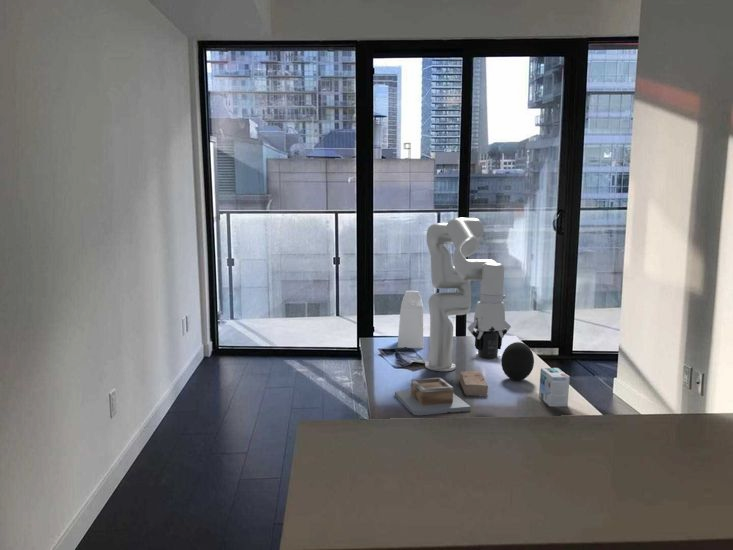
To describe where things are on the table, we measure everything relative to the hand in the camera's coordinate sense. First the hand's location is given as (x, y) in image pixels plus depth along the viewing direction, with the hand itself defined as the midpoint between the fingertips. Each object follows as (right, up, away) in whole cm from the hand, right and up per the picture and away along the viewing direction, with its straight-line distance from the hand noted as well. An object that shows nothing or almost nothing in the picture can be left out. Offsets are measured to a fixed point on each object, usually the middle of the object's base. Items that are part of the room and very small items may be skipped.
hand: (488, 348), depth 209 cm
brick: (-2, -17, +15) cm, 23 cm away
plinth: (-20, -17, -2) cm, 26 cm away
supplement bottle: (0, -3, +1) cm, 3 cm away
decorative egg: (+17, -16, +26) cm, 35 cm away
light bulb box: (+23, -19, +3) cm, 31 cm away
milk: (-21, -8, +77) cm, 81 cm away
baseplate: (-20, -19, -2) cm, 27 cm away
